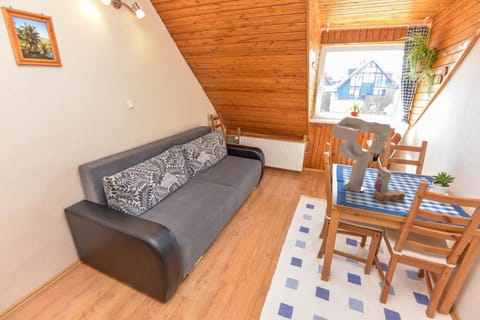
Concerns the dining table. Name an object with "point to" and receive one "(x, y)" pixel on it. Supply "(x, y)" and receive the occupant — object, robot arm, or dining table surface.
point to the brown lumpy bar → (389, 195)
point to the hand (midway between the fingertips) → (374, 161)
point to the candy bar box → (382, 179)
